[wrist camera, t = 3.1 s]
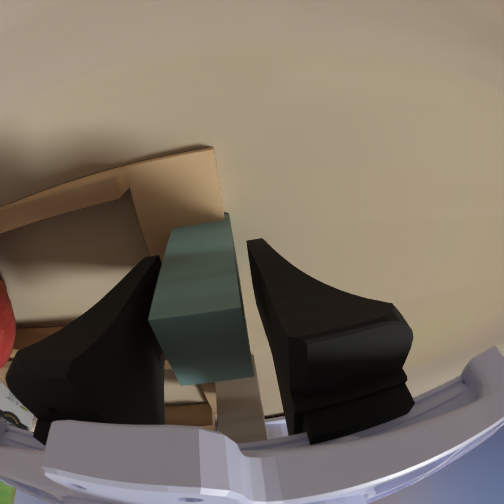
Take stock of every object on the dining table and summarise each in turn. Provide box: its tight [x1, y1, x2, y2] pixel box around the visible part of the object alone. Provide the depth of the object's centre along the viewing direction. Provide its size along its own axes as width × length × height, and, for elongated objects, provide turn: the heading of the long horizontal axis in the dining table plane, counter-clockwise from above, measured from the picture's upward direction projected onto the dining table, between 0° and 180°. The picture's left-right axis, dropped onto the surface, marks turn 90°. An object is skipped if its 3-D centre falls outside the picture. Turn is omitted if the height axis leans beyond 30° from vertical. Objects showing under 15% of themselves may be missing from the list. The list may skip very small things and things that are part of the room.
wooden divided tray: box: [0, 147, 254, 385], centre depth 10 cm, size 9×20×6 cm, turn 97°
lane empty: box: [0, 355, 268, 444], centre depth 15 cm, size 9×20×6 cm, turn 97°
